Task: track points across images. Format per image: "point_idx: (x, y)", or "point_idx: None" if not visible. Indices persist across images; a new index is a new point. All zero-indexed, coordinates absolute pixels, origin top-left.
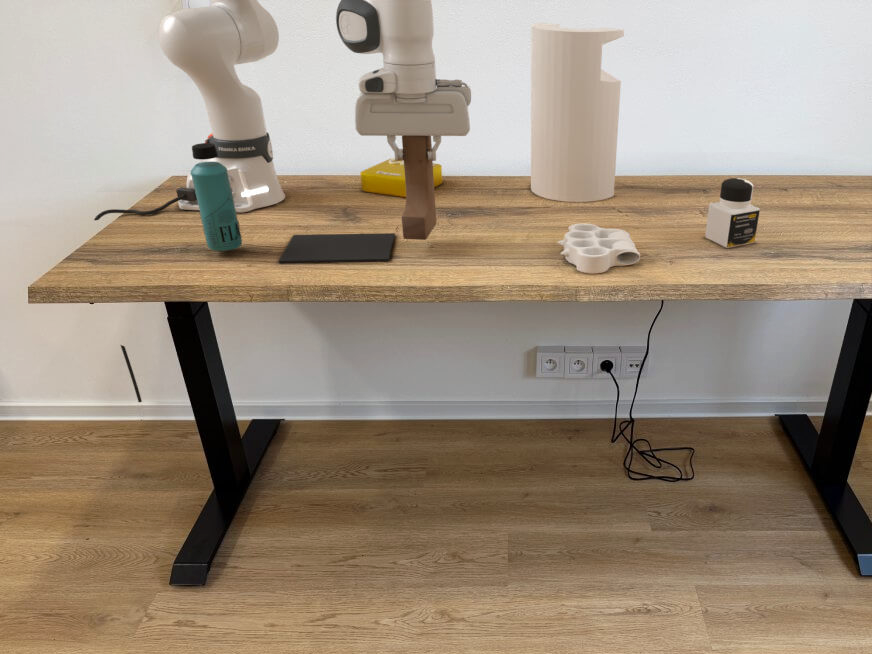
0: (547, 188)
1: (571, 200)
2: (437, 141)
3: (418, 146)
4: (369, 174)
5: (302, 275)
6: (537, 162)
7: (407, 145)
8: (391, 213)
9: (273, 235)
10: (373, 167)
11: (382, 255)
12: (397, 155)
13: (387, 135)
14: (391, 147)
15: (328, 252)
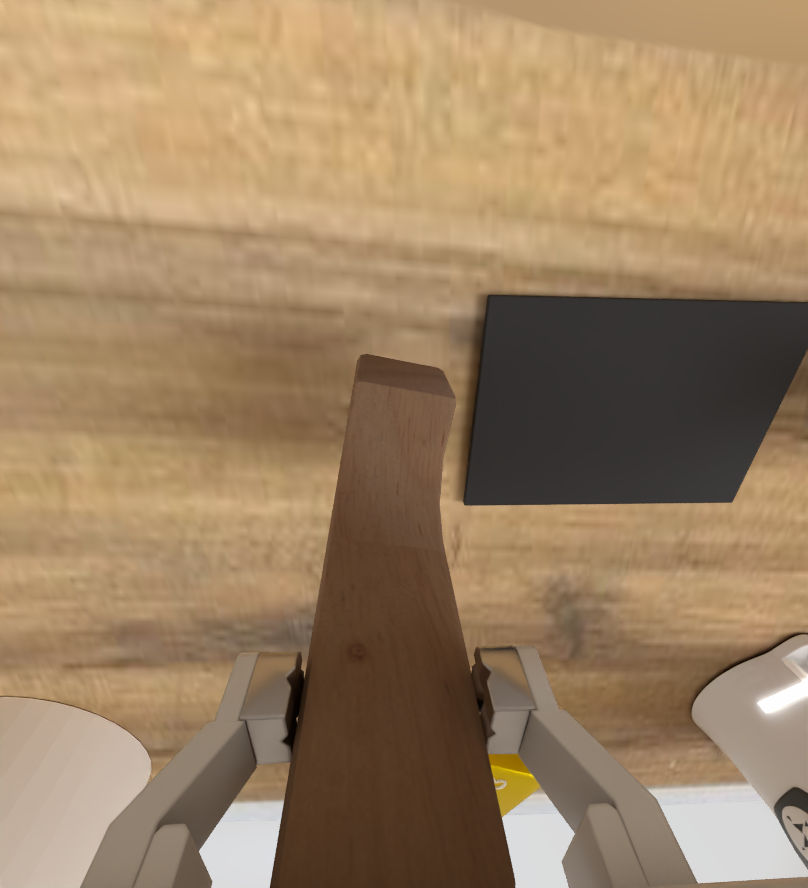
0: (72, 739)
1: (14, 700)
2: (144, 831)
3: (360, 772)
4: (522, 775)
5: (782, 179)
6: (70, 829)
7: (455, 781)
8: (469, 633)
9: (772, 511)
10: (511, 804)
11: (507, 329)
12: (526, 676)
13: (707, 885)
14: (595, 741)
15: (668, 367)
